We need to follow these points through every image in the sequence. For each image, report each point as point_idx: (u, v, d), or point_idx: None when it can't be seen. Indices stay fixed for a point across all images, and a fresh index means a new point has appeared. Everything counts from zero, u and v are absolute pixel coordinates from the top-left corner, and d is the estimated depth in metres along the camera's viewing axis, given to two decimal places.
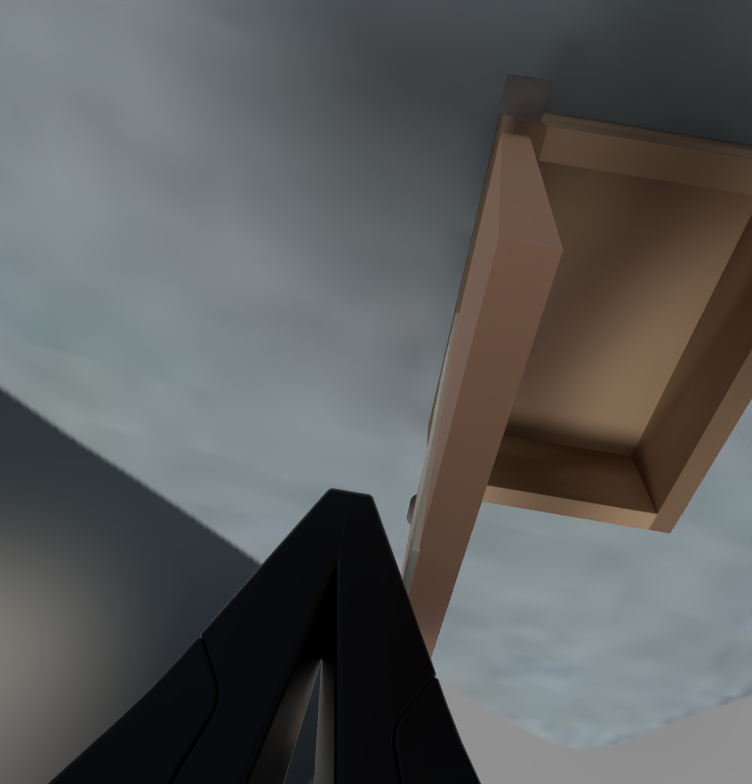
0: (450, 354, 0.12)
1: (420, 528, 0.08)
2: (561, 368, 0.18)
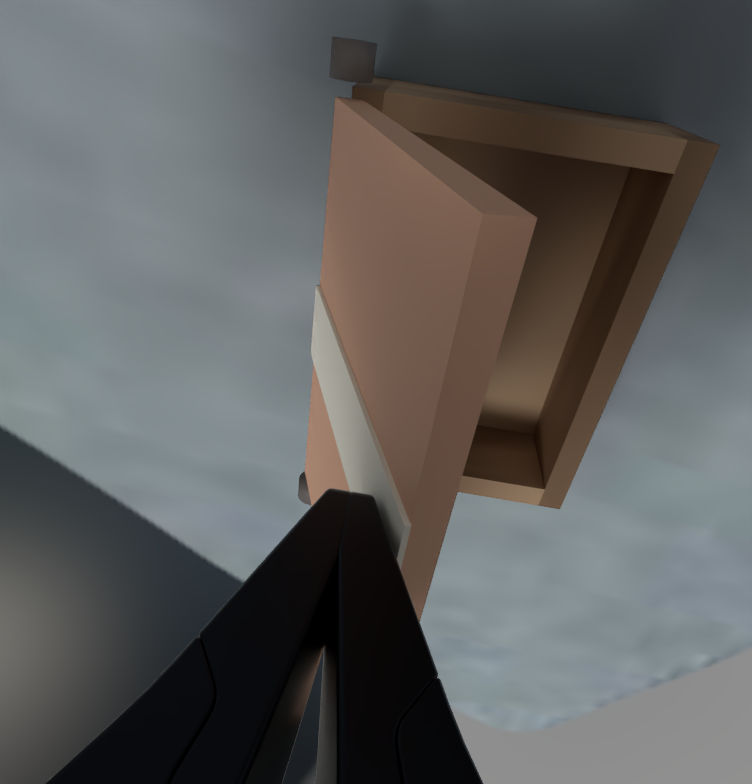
0: (334, 328, 0.12)
1: (400, 503, 0.08)
2: None
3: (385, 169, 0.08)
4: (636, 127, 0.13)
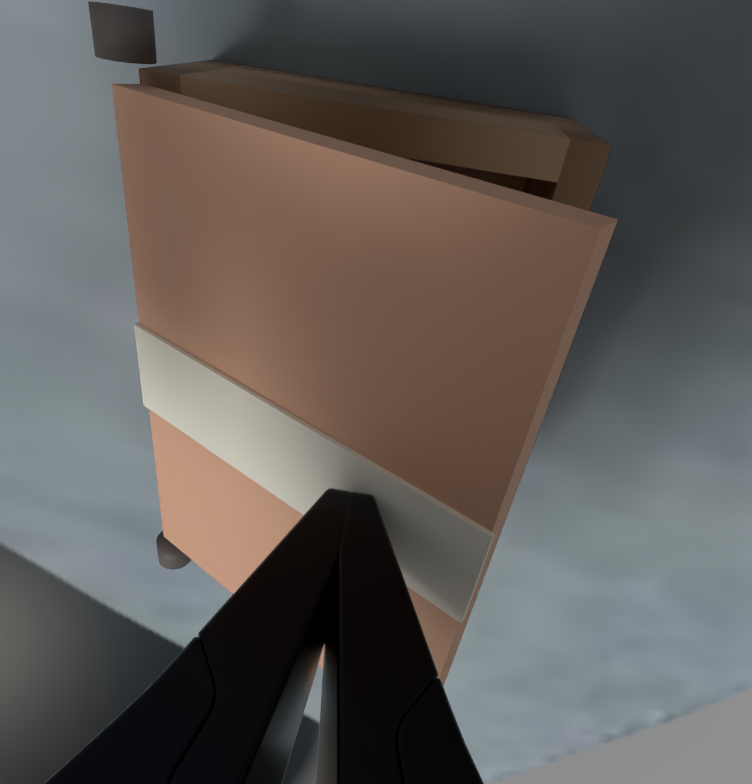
0: (214, 370, 0.10)
1: (468, 519, 0.08)
2: None
3: (322, 181, 0.07)
4: (515, 122, 0.10)
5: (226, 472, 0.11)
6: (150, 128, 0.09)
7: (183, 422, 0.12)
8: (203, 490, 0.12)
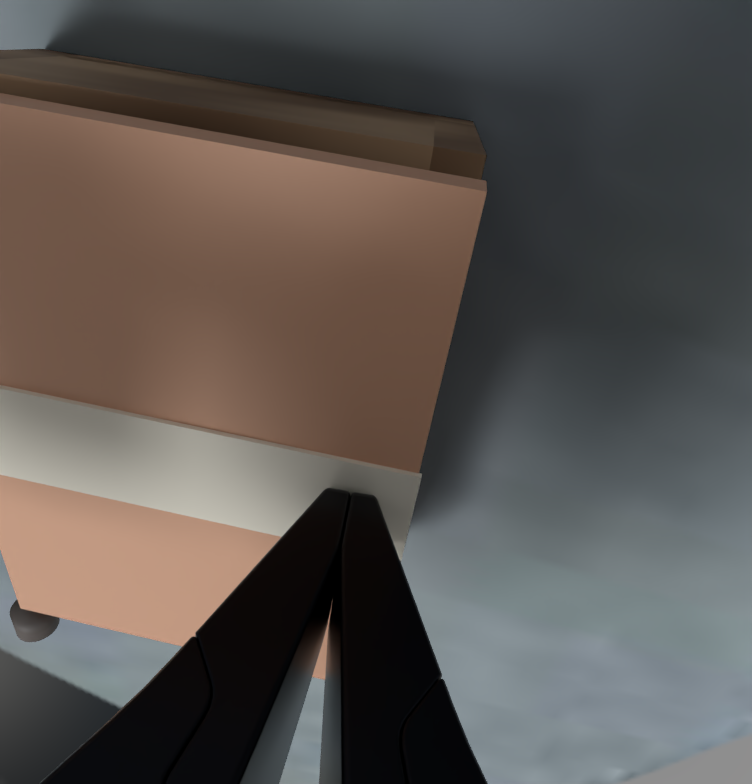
0: (70, 401, 0.09)
1: (395, 469, 0.09)
2: None
3: (191, 174, 0.07)
4: (379, 125, 0.08)
5: (104, 509, 0.10)
6: None
7: (33, 470, 0.10)
8: (73, 538, 0.11)
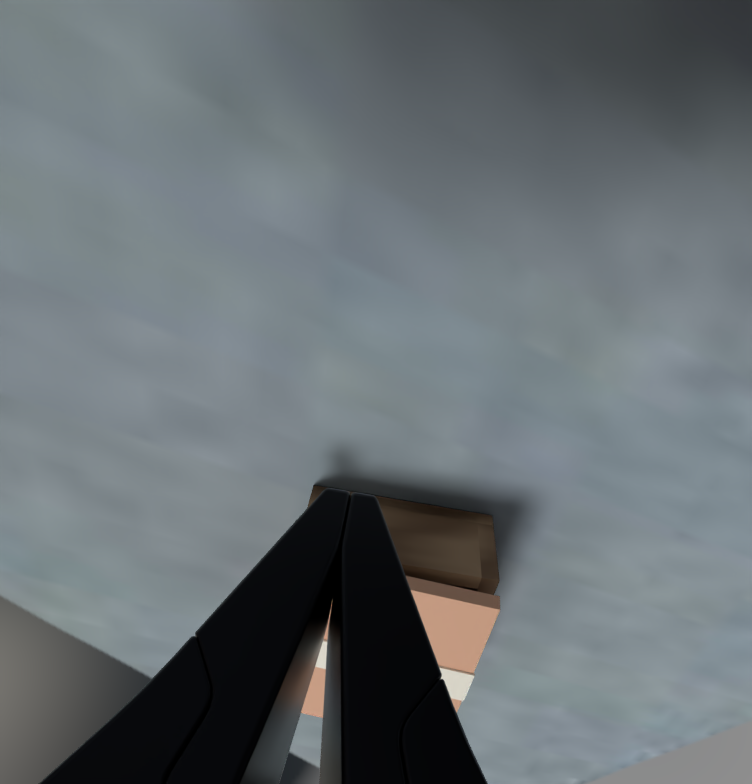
0: None
1: (464, 672, 0.23)
2: None
3: None
4: (460, 553, 0.22)
5: None
6: None
7: None
8: (319, 684, 0.25)
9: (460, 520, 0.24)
